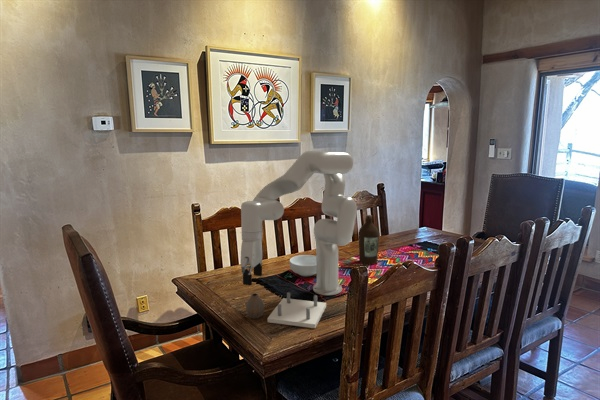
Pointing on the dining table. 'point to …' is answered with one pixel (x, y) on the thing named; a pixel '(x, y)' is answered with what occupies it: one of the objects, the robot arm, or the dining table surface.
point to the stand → (297, 312)
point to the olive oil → (368, 242)
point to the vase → (255, 306)
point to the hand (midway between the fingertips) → (252, 280)
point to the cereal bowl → (303, 265)
